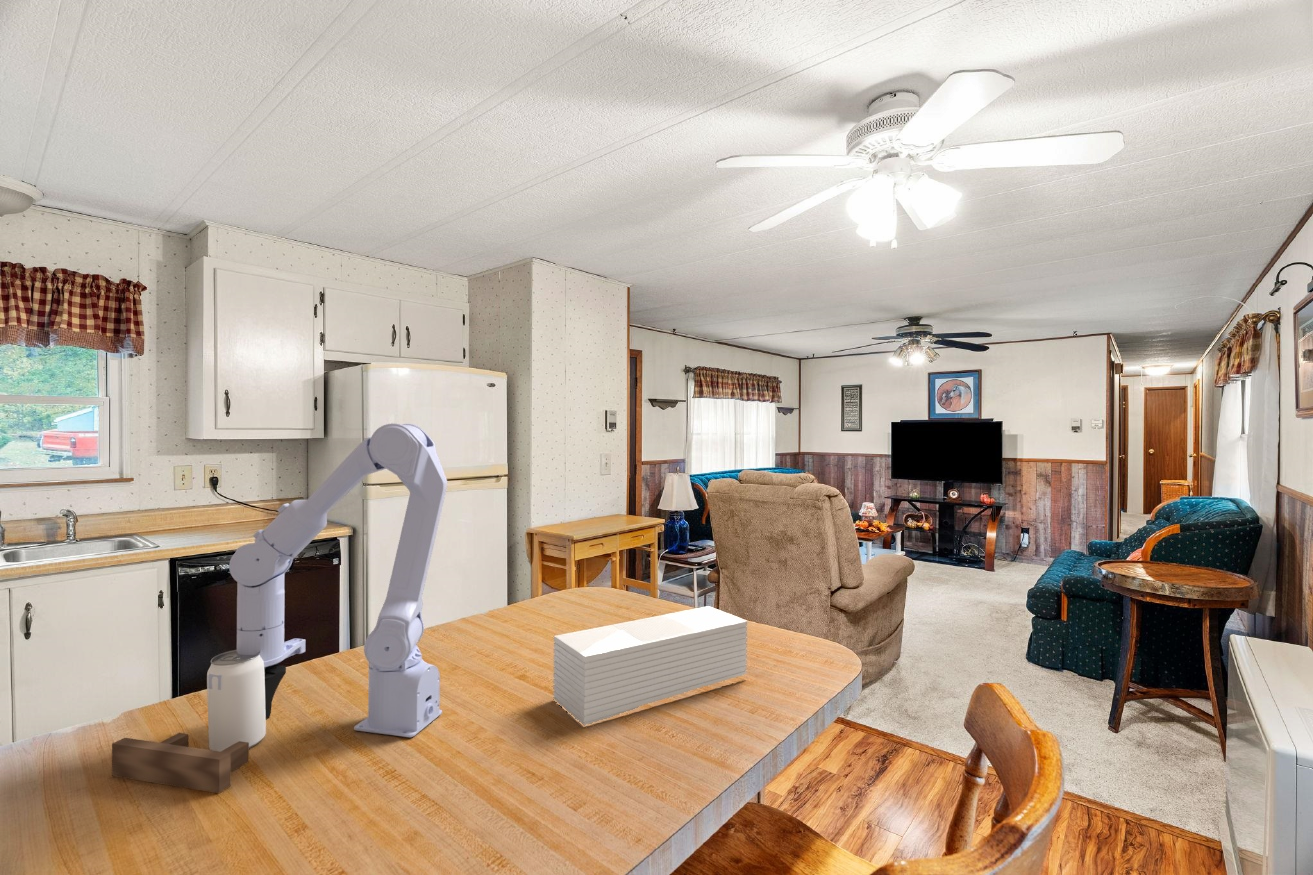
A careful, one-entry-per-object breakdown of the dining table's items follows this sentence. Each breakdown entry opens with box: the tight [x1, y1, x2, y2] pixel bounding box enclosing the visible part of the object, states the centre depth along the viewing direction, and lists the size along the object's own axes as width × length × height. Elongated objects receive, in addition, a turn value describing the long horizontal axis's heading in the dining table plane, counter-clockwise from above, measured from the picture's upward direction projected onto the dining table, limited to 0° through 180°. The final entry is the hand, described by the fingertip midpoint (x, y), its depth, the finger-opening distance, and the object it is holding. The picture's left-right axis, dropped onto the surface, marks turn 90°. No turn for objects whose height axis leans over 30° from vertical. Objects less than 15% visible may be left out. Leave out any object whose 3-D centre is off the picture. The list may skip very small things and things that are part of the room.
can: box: [206, 649, 267, 752], centre depth 84 cm, size 6×6×12 cm
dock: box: [111, 732, 250, 794], centre depth 77 cm, size 16×6×4 cm, turn 78°
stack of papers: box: [552, 605, 748, 726], centre depth 103 cm, size 32×11×11 cm, turn 124°
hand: (260, 719), depth 88 cm, fingers closed
